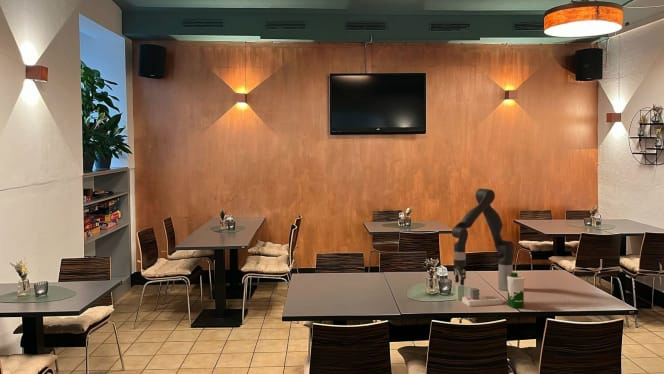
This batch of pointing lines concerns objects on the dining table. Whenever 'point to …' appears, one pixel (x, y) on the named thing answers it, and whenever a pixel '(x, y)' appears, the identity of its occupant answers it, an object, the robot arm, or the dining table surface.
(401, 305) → the dining table surface
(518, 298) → the milk carton
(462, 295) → the green plug
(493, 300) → the white plate with window
